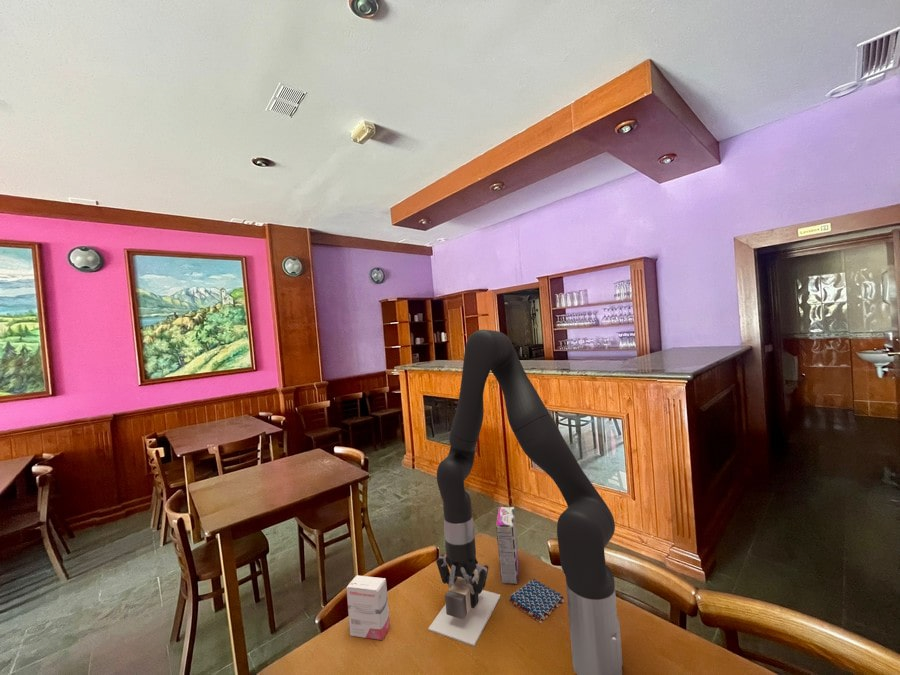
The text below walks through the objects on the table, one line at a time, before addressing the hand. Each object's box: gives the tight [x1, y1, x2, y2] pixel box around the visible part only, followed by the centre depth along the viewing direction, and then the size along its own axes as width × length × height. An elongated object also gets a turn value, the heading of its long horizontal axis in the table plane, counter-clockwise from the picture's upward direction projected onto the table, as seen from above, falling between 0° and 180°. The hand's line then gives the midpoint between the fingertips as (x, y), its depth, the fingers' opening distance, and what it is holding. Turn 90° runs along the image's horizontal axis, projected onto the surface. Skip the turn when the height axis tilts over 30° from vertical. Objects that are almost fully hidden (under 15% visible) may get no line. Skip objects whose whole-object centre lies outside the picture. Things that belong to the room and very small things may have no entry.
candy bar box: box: [495, 506, 520, 585], centre depth 106 cm, size 11×5×16 cm, turn 168°
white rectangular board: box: [427, 589, 502, 647], centre depth 92 cm, size 12×17×1 cm
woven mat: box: [508, 578, 565, 624], centre depth 93 cm, size 10×11×2 cm
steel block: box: [444, 569, 479, 620], centre depth 92 cm, size 4×4×12 cm
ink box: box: [346, 575, 391, 641], centre depth 88 cm, size 9×5×12 cm, turn 74°
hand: (464, 602), depth 91 cm, fingers closed on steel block, 4 cm apart
